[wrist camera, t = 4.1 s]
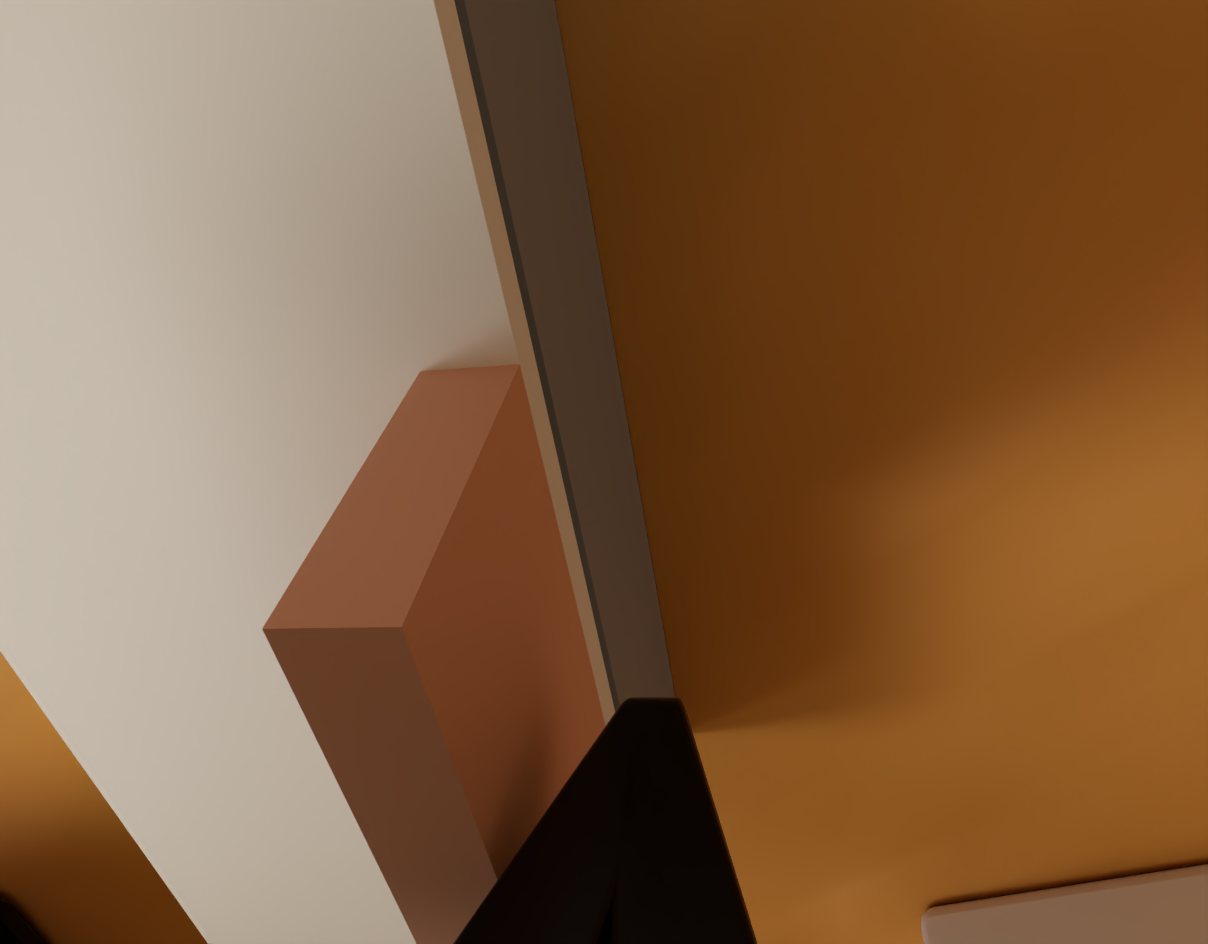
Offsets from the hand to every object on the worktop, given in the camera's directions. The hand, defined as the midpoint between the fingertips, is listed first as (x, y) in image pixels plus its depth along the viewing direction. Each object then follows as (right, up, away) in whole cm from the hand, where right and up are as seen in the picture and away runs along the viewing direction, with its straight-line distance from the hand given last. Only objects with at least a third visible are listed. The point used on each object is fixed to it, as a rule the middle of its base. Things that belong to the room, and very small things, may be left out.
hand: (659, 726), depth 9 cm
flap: (-5, +1, +3) cm, 6 cm away
